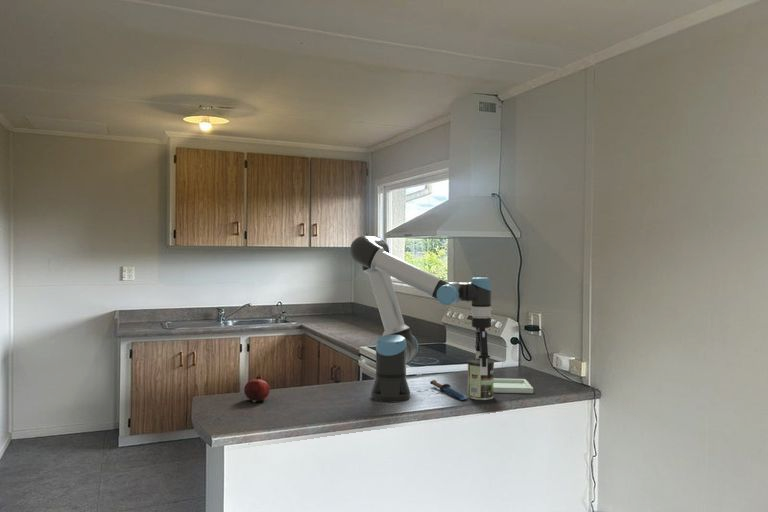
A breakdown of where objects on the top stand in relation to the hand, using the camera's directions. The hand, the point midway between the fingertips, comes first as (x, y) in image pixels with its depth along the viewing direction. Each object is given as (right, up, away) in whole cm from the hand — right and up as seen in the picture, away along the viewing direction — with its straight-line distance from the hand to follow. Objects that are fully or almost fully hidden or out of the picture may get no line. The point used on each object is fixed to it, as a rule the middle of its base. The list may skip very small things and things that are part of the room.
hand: (481, 371), depth 225 cm
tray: (+14, -10, +15) cm, 23 cm away
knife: (-12, -10, +5) cm, 17 cm away
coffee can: (-1, -10, 0) cm, 10 cm away
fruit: (-86, -10, -9) cm, 87 cm away
